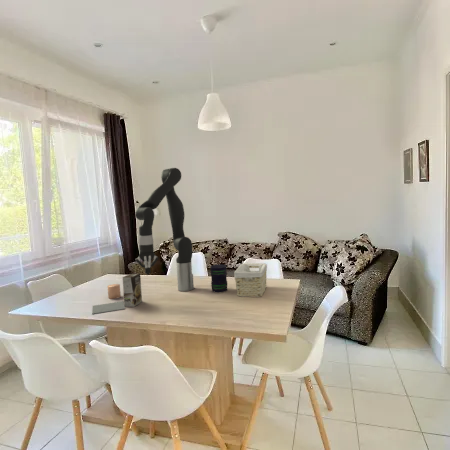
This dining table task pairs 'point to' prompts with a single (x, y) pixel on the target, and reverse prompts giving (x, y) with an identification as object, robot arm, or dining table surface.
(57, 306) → the dining table surface
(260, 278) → the storage basket
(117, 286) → the peach rounded knob
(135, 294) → the coffee box
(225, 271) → the storage jar
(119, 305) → the mat
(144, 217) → the robot arm
